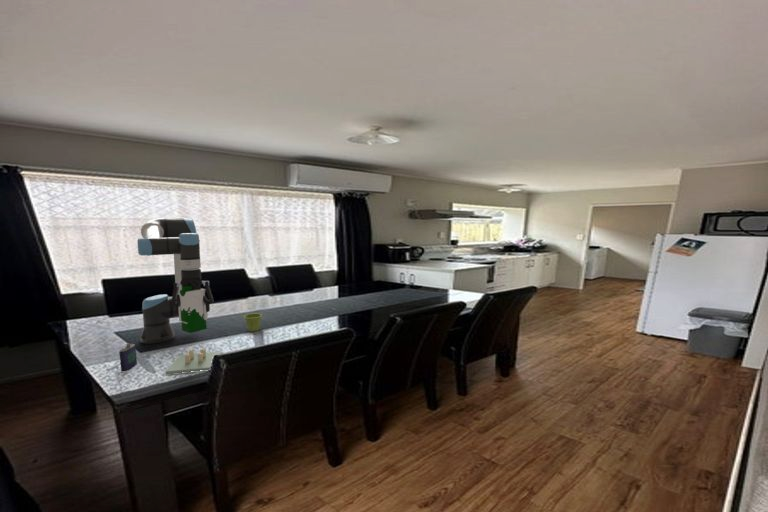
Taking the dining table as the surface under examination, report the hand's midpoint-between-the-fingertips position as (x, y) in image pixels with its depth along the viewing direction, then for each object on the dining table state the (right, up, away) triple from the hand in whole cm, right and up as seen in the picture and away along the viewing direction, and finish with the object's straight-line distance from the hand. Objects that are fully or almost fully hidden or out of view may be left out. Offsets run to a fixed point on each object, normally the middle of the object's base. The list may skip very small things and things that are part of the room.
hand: (193, 319), depth 149 cm
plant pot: (+7, -16, +49) cm, 52 cm away
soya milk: (0, -5, 0) cm, 5 cm away
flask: (-27, -21, -1) cm, 34 cm away
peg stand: (0, -20, +2) cm, 20 cm away
